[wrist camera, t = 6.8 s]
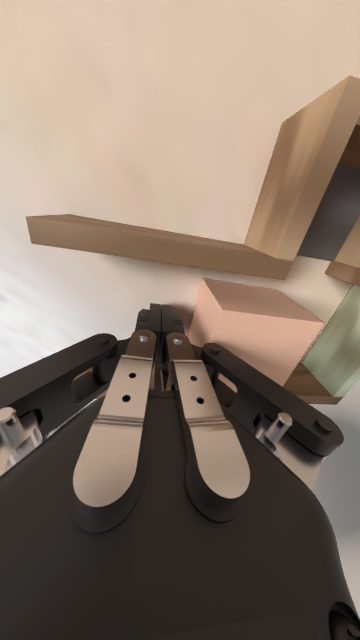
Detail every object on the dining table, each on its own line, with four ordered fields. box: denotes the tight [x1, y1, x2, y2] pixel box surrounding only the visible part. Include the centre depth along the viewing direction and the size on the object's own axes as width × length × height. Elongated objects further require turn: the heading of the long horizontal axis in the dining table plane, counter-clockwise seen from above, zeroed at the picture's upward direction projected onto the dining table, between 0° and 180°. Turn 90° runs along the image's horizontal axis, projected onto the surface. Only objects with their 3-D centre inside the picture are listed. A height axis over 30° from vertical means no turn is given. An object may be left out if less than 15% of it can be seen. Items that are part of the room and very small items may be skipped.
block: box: [188, 278, 324, 393], centre depth 13 cm, size 6×6×5 cm
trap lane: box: [26, 76, 360, 404], centre depth 14 cm, size 23×22×4 cm
